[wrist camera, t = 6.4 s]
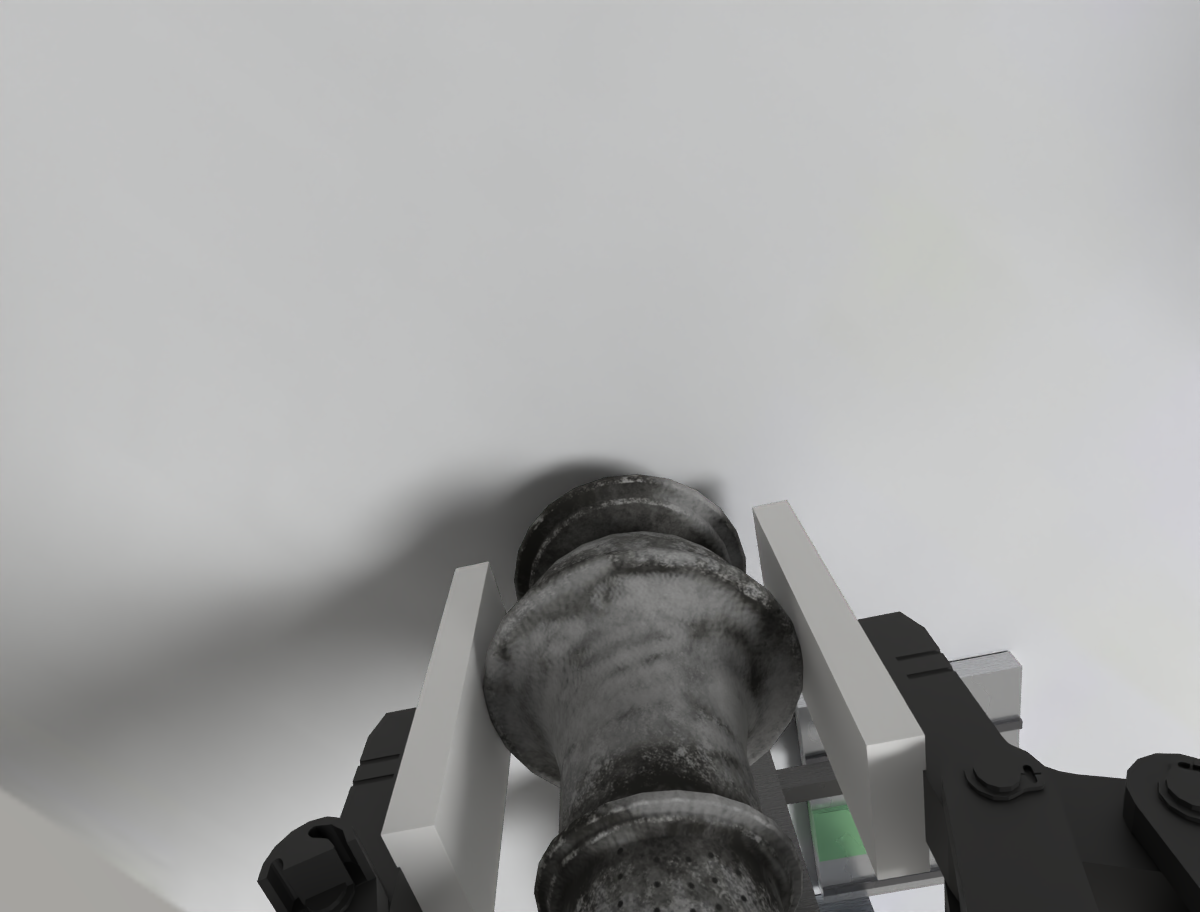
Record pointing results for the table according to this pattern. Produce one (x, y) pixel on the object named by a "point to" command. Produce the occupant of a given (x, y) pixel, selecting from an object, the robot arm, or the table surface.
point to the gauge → (831, 822)
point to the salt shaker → (647, 702)
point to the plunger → (789, 789)
